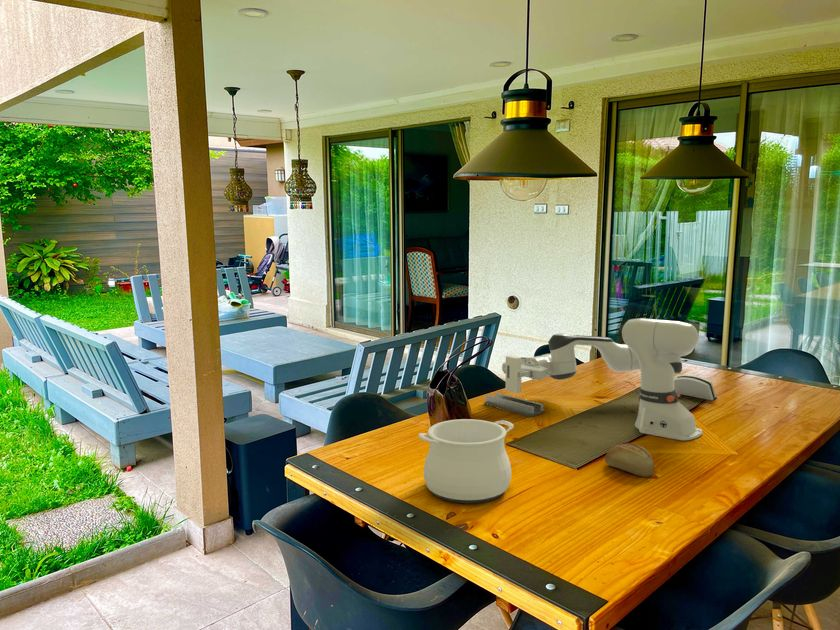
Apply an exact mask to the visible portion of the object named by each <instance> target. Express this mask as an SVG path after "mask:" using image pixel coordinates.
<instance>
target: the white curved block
mask: <svg viewBox="0 0 840 630" xmlns="http://www.w3.org/2000/svg"><path fill="white" fill-rule="evenodd" d="M714 387H715V386H714V385H713V381H711V380H709V379H706V378H705V377H704V378H703V377H702V376H698V375H693V374H682V375H678V376H676V378H674V390H675V392H676V393H677V394H679V393H681V394H680V395H684V396H689V397H693V398H698V399H703V400H708V401H713V400H714V399H717V398H718V396H717V393H716V392H715V388H714Z"/></svg>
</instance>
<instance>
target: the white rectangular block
mask: <svg viewBox="0 0 840 630" xmlns="http://www.w3.org/2000/svg"><path fill="white" fill-rule="evenodd" d="M505 362H506V374H505V391H506V392H509V393H510V392H511V393H513V394H520V393H522V377H518V372H521V356H520V357H519V356H516V355H515V356H514V355H506V356H505Z"/></svg>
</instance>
